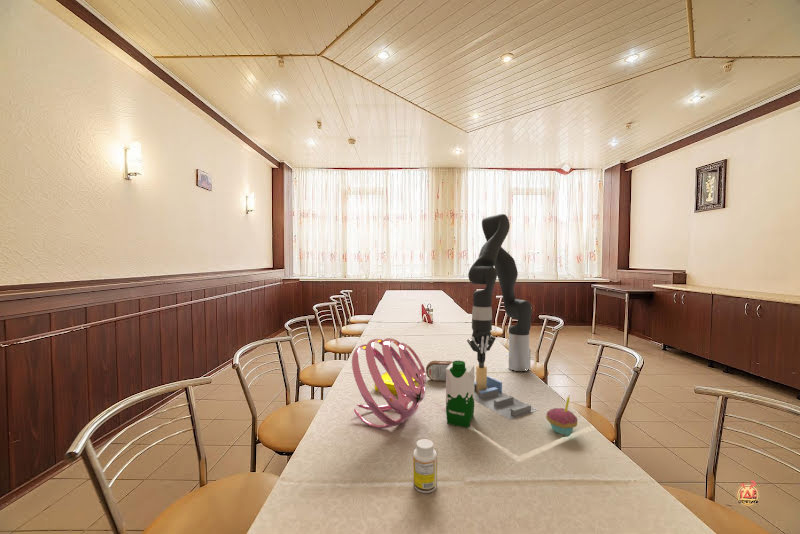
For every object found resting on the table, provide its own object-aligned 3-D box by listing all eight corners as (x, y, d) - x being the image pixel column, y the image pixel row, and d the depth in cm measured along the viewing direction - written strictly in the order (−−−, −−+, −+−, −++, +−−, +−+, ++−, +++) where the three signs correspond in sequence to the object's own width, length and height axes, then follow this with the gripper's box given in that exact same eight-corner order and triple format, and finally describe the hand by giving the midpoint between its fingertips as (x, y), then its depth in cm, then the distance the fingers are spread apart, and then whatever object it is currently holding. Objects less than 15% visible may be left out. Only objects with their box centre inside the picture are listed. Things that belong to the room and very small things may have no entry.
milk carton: (443, 424, 106) (443, 362, 105) (451, 412, 114) (451, 355, 113) (470, 430, 102) (470, 366, 101) (476, 417, 110) (476, 358, 110)
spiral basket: (311, 366, 104) (381, 320, 99) (353, 361, 129) (409, 324, 125) (349, 455, 94) (428, 409, 89) (385, 431, 119) (448, 394, 115)
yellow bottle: (481, 389, 130) (481, 359, 130) (489, 393, 127) (489, 362, 126) (474, 391, 129) (474, 361, 128) (481, 395, 125) (481, 364, 125)
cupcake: (574, 428, 103) (575, 390, 102) (579, 443, 95) (580, 402, 94) (544, 423, 106) (545, 387, 105) (547, 437, 98) (547, 398, 97)
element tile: (372, 391, 133) (372, 379, 133) (389, 378, 146) (389, 368, 146) (406, 398, 126) (406, 385, 126) (421, 384, 140) (421, 373, 140)
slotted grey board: (485, 386, 136) (485, 374, 136) (538, 412, 113) (538, 398, 113) (458, 393, 129) (458, 381, 129) (509, 422, 106) (509, 407, 106)
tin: (460, 380, 144) (460, 360, 143) (461, 382, 140) (461, 363, 140) (426, 378, 145) (425, 360, 145) (425, 381, 142) (425, 362, 142)
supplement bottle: (422, 474, 81) (422, 434, 81) (441, 484, 78) (441, 442, 77) (408, 487, 77) (408, 444, 77) (427, 498, 73) (427, 453, 73)
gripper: (487, 314, 133) (487, 357, 134) (462, 317, 127) (461, 361, 127) (501, 317, 127) (500, 362, 127) (475, 320, 120) (474, 367, 121)
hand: (481, 362), depth 127 cm, fingers closed
